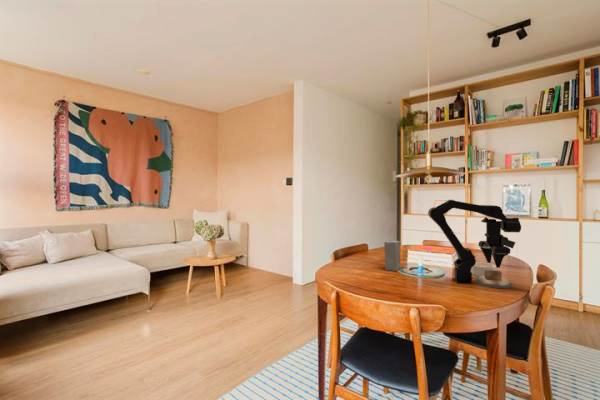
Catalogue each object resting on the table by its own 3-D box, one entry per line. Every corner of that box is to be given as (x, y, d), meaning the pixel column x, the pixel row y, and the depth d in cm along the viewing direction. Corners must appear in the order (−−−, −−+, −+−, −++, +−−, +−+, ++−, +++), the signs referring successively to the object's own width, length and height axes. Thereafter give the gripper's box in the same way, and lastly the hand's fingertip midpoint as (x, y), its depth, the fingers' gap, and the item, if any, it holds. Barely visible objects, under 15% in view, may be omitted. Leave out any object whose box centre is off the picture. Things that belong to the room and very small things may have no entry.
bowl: (475, 276, 152) (475, 267, 152) (467, 271, 163) (467, 262, 163) (499, 277, 150) (499, 267, 150) (489, 271, 161) (490, 262, 161)
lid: (483, 285, 136) (483, 274, 136) (472, 277, 149) (472, 267, 148) (515, 286, 133) (515, 275, 133) (501, 278, 146) (501, 268, 146)
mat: (482, 287, 135) (482, 285, 135) (469, 278, 150) (469, 276, 150) (519, 289, 132) (519, 287, 132) (502, 279, 147) (502, 277, 147)
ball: (480, 273, 155) (480, 265, 155) (477, 271, 159) (477, 264, 159) (489, 273, 154) (489, 266, 154) (485, 271, 158) (485, 264, 158)
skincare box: (396, 271, 164) (396, 242, 163) (383, 269, 168) (383, 241, 168) (401, 268, 170) (401, 240, 170) (389, 266, 175) (389, 239, 174)
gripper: (523, 235, 130) (523, 270, 130) (502, 229, 148) (502, 261, 149) (495, 234, 132) (495, 270, 132) (478, 229, 150) (478, 260, 150)
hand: (493, 265), depth 141 cm, fingers open, 9 cm apart
